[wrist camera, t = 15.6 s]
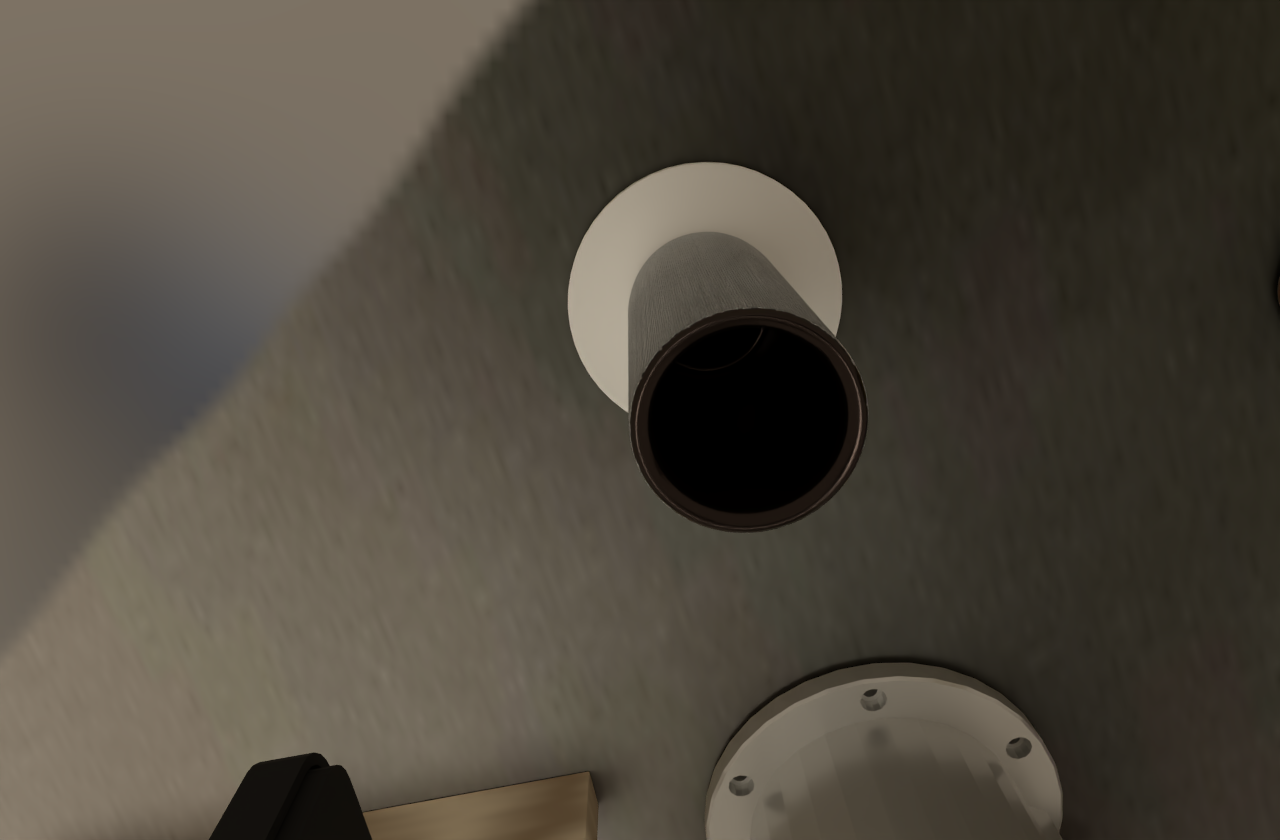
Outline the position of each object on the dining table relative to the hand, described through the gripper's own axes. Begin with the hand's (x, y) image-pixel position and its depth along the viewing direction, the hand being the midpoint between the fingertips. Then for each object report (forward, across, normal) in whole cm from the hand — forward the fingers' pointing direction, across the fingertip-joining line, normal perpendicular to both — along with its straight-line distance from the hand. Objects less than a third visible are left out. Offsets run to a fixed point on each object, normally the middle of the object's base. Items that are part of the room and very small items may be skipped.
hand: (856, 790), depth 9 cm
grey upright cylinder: (+20, 0, 0) cm, 20 cm away
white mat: (+20, 0, 0) cm, 20 cm away
